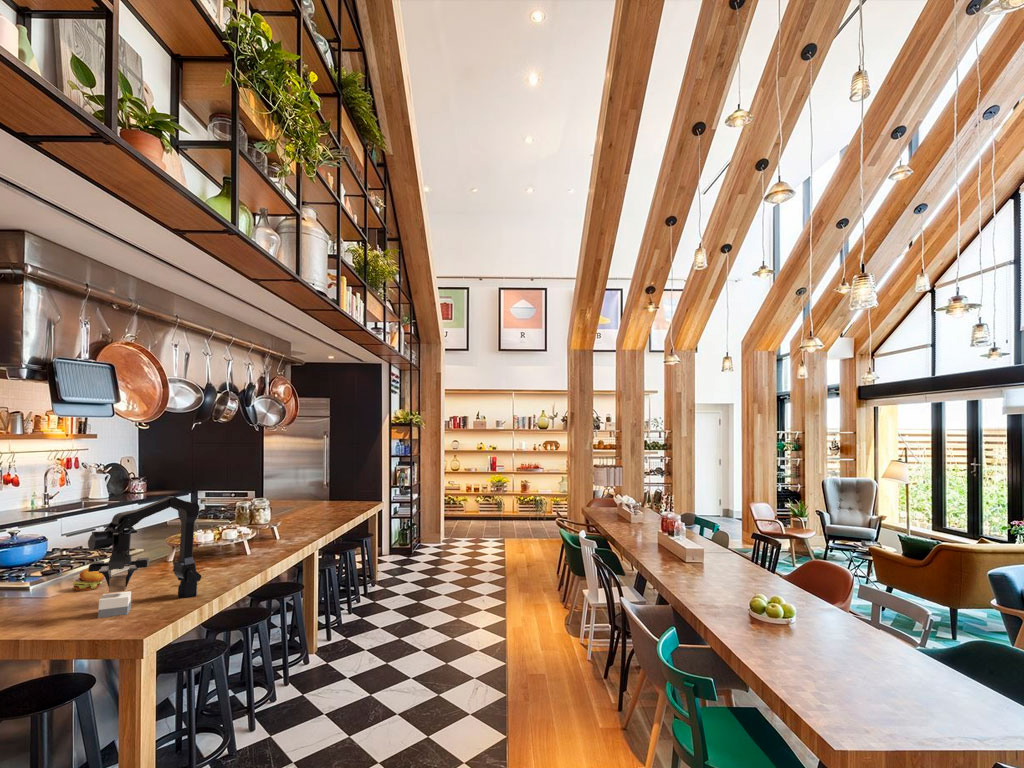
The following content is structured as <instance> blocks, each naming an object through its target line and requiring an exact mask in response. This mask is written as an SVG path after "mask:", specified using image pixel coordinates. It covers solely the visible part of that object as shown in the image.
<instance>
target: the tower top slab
mask: <svg viewBox="0 0 1024 768" xmlns="http://www.w3.org/2000/svg"><path fill="white" fill-rule="evenodd" d="M131 598H132V591H131V590H130V591H120V592H110V593H103V594H102V595H101V597H100V598H99V600H98V610H102V609H110V608H119V607H127V606H128V605H129V603H130V601H131V602H132V599H131Z"/></svg>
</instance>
